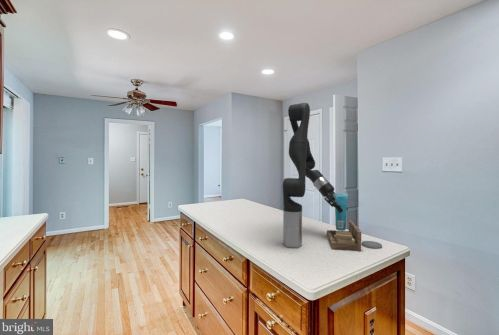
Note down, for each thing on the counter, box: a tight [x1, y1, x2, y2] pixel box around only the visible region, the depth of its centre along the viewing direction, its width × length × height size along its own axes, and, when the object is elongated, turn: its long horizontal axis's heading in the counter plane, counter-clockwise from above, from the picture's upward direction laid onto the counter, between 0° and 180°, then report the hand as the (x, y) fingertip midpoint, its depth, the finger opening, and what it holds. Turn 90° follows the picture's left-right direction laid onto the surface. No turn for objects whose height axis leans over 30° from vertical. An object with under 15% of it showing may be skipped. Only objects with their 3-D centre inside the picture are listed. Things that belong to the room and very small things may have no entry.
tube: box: [334, 193, 349, 231], centre depth 132 cm, size 7×5×19 cm, turn 96°
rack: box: [326, 219, 362, 252], centre depth 128 cm, size 22×13×9 cm, turn 169°
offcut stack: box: [334, 230, 355, 243], centre depth 124 cm, size 9×9×6 cm
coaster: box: [361, 240, 383, 250], centre depth 124 cm, size 9×9×1 cm
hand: (344, 211), depth 131 cm, fingers closed on tube, 5 cm apart
